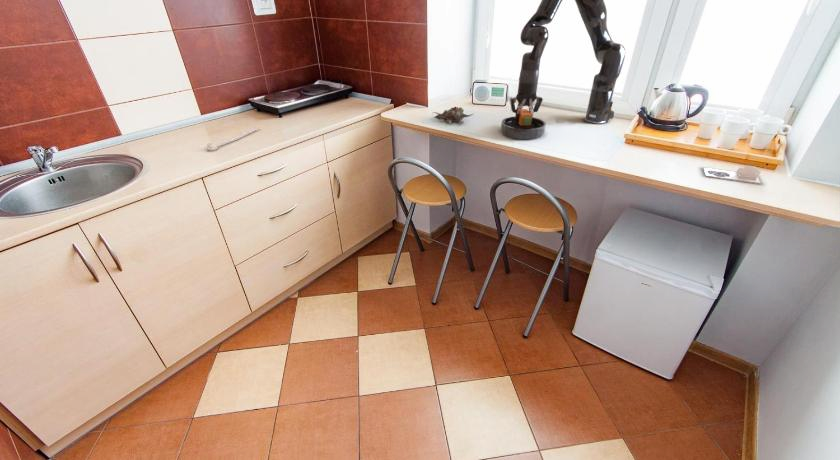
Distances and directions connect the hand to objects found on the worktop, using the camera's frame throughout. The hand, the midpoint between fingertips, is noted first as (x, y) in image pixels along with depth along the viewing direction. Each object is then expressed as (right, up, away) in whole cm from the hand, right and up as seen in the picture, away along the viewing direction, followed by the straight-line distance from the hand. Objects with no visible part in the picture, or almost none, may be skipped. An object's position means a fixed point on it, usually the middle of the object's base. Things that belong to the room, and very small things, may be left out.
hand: (523, 121), depth 167 cm
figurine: (-29, +6, +20) cm, 36 cm away
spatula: (-127, -7, +4) cm, 127 cm away
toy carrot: (0, 0, 0) cm, 0 cm away
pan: (0, -4, +3) cm, 5 cm away
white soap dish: (+60, -29, -37) cm, 76 cm away
